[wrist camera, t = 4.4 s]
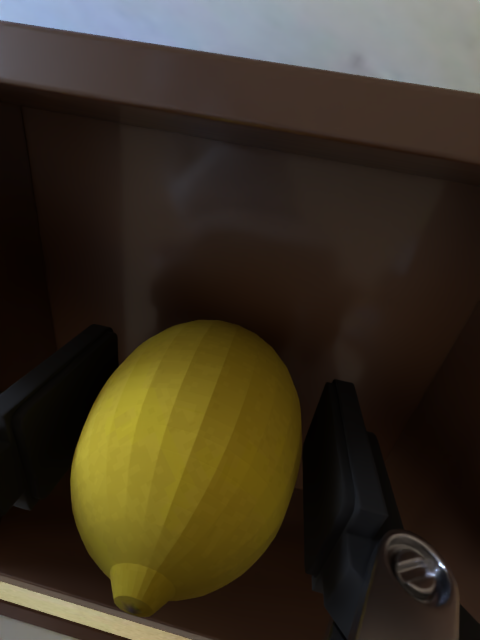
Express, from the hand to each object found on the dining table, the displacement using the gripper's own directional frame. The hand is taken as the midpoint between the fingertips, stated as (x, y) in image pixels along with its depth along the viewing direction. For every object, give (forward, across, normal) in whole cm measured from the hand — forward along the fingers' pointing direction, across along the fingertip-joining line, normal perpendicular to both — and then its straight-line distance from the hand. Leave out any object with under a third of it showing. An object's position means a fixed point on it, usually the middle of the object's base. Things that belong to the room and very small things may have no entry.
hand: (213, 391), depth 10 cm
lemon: (+3, 0, 0) cm, 3 cm away
